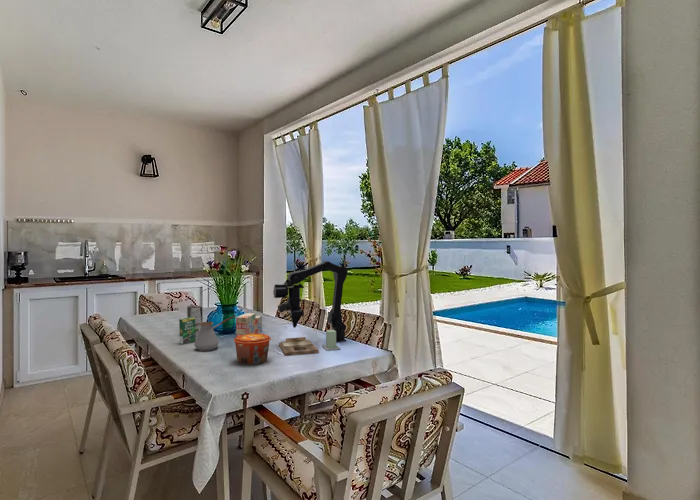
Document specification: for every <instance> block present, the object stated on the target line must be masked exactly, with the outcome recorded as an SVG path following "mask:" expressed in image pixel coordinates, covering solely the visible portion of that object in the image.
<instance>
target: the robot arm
mask: <svg viewBox="0 0 700 500" xmlns="http://www.w3.org/2000/svg"><path fill="white" fill-rule="evenodd" d="M325 270H327V271H330V272H331V273H333V280H334V286H333V287H334V289H333V298H332V306H331V310H330V311H327V317H326V320H327V323H328V324H329V325H330V326H331V330H335V331H336V343H337V342H338V341H340V342H347V340H346V329H347V325H346V324H345V323H344V322H343V316H342V311H341V308H342V297H343V291H344V283H345V281H346V279H347V276H348V269H347V268H346V266H343V265H342V266H341V265H337V264H335V263H332V262H330V261H328V260H323V261H322V262H321V263H318V264H317V263H316V265H313V266H310V267H308V268H305V269H303V270H296V271H291V272H289V273H288V275H287V279H286V280H285V282H284V283H282V284H278V283H277V284H276V283H275V284H274V285H273V286H274V287H273V290H272V292H273V299H279V298H280V299H281V298H287V297H288V298H287V301H286V302H282V303H280V304H278V305H277V309H278V312H279V313H284V312H288V311H289V312H288V313H287V314H288V315H289V316H290V318H291V323H292V327H293V329H296V327H297V325H298V323H299V320H300V318H301V317H304V316H305V311H303V310H302V307H301V301H302V300H301V289H304V288H305V286H304V285H303V284H302V283H301V282H303V281H304V280H305V279H307V278H308V277H311V276H313V275H316V274H318V273H320V272H324V271H325Z"/></svg>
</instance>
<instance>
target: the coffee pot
mask: <svg viewBox="0 0 700 500" xmlns="http://www.w3.org/2000/svg"><path fill="white" fill-rule="evenodd" d="M236 317H237V316H236V315H232V316H230V317H228V318H226V319H224V320H222V321H221V322H219V323H218V324H215V325H214V322H213V321H202V323H200V325H201V329H200V331H199V334H198V336H197V337H196V341H195V342H193V343H194V348H196V349H197V350H198V351H200V352H208V351H213V350H215V349H216V348H217V347H218V345H219V344H220V342H219V339H218V337H217V335H216V332H215V331H214V329H215V328H217V327H218V326H222V325H223V324H225V323H227V322H228V321H230V320H231V319H233V318H234V319H235V320H236Z"/></svg>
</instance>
